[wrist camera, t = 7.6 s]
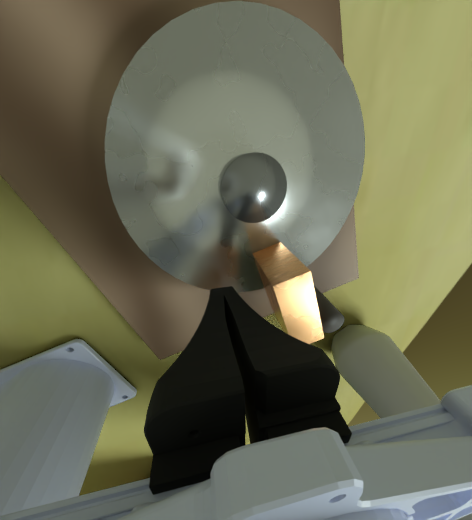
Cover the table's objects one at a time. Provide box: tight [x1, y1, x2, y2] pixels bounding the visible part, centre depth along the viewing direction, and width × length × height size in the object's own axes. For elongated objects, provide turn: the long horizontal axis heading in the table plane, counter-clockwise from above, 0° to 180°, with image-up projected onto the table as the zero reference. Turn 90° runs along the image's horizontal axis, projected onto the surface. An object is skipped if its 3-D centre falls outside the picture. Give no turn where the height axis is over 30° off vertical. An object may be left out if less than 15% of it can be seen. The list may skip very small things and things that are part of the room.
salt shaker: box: [331, 325, 472, 520], centre depth 16 cm, size 6×6×13 cm
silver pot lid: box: [105, 1, 365, 344], centre depth 10 cm, size 15×13×5 cm
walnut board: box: [0, 0, 359, 360], centre depth 10 cm, size 17×20×6 cm
